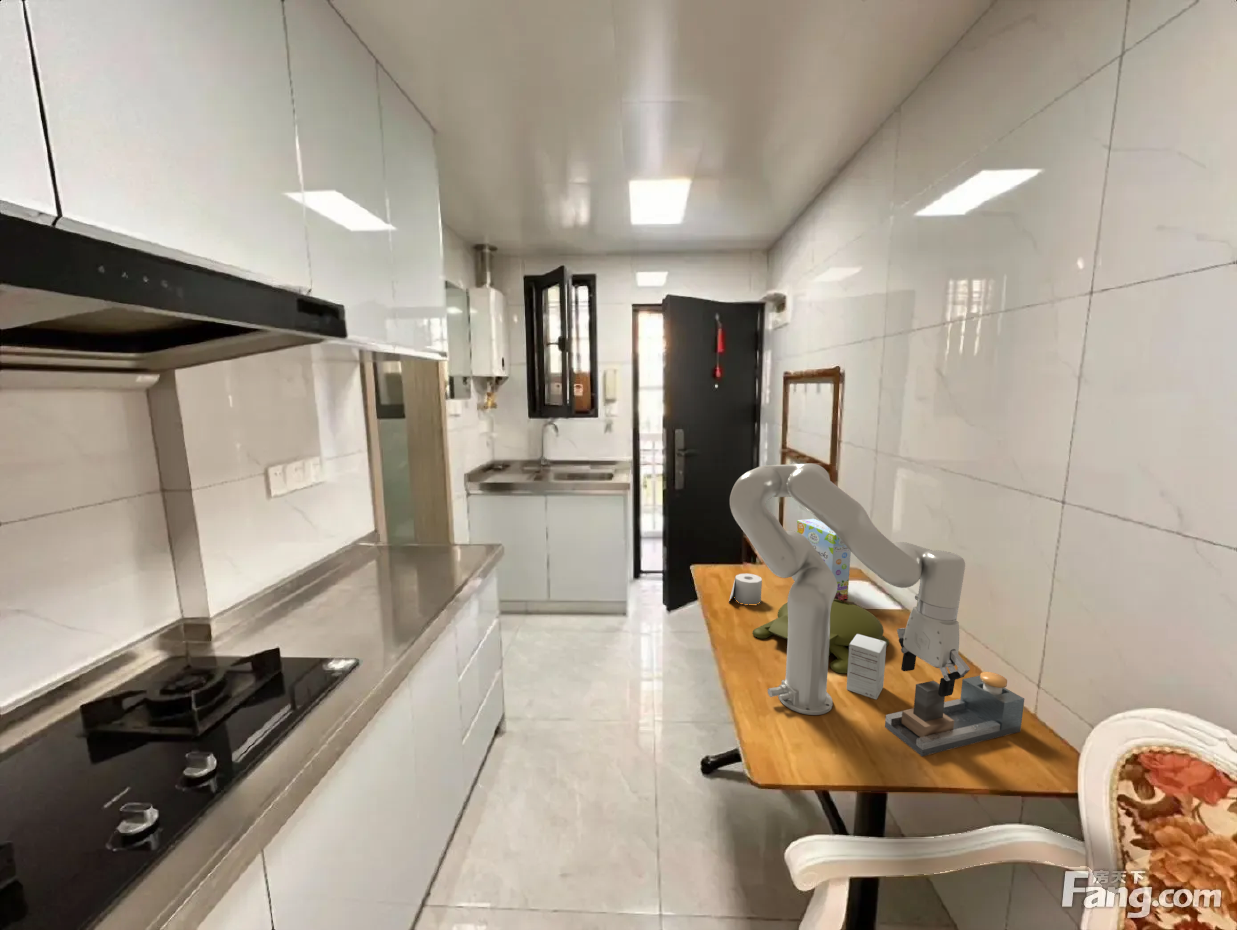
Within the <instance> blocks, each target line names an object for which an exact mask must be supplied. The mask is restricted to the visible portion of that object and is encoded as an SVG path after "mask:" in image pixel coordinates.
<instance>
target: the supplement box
mask: <svg viewBox="0 0 1237 930" xmlns="http://www.w3.org/2000/svg"><path fill="white" fill-rule="evenodd" d="M848 650H849V658H848V673H846V674H847V677H846V690H847V691H849V692H853V693H856V694H858V695H861V696H864V697H867V698H870V699H874V700H877V699H878V698H879V697H880V694H881V692H882V690H883V688H884V684H885V683H884V681H885V668H886V654H887V653H886V651H887V646H886V642H885V641H882V640H878V639H875V638H871V637H867V636H863V635H860V634H856V636H855V637H854V638H853V640H852V641H851V643H850V644H849V646H848Z"/></svg>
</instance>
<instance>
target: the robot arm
mask: <svg viewBox="0 0 1237 930" xmlns="http://www.w3.org/2000/svg"><path fill="white" fill-rule="evenodd" d="M773 498H793V500H795V501H796V502H797V503H798V504H799V505H800V506H802V507H803V508H804V509H806V510H807V511H808V512H809V513H810V514H812V515H813V516H814V517H815V518H817V520H819V521H821V522H823V523H824V524H825V525H826V526H828V527H829V528H830V529H831V530H832V531H834V532H835V533H836V535H837V536H838V537H839V538H840V540H841V541H842V542H843V543H844V544H845V545H846V546H847V547H848V549H849V550H850V551H851V553H852V554H853V555H854V556H855V557H856V558H857V559H858V560H859V561H860V562H861V563H862V564H863V565H864V566H866V568H868V569H869V570H870V571H871V572H873V573H874V575H876V576H877V577H878V578H880V579H881V580H882V581H884V582H885V583H887V584H889V585H890V586H893V587H896V588H900V589H906V588H910V587H913V586H915V585H916V584H917V583H918V582H919V581H920V582H919V588H918V593H917V594H915V596H914V599H915V601H916V606H913V608H912V610H911V611H910V614H909V616H908V620H907V622H906V626H905V627H901V628H897V629H896V631H897V636H898V643H899V645H900V646H901V648H900V651H901V653H902V662H901V668H900V669H901V671H903V672H909V671H915V668H916V667H915V666H916V661H917V658H919V659H921V660H922V661H924V662H925V663H926V664H929V665H930V666H932V667H934V668H936V669H939V670H940V672H941V675H942V677H941V678H940V681H939V684H940V685H939V692H938V694H939V696H941V697H944V696H945V697H949V696H952V695H953V693H954V688H955V683H956V680H959V679H963V678H964V677H965V675H967V674H968V673H969V672H970V666H969V665H968V664H967V663H966V662H965V660H964V659H963V658H962V656H960V654H959V651H960V650H959V649H960V625H959V623H960V622H959V621H958V620H957V619H958V614H959V607H960V600H961V597H962V594H961V593H962V587H963V582H964V577H965V576H964V575H965V569H966V561H965V559H964V558H963V557H962V556H961V555H958V554H957V553H956V554H955V553H954V552H950V551H945V550H938V549H937V550H936V549H934V550H933V549H929V548H926V547H922V546H919V545H917V544H913V543H909V542H904V541H898V542H897V541H896V542H894V543H893V541H891V540H890V539H889V538H888V537H886V535H884V534H883V533H882V532H881V531H880V530H879V529H878V528H877V527H876V526H875V524H874V523H873V522H872V520H871V519H870V517H869V514H868V513H867V511H866V510H865V508H864V507H863V506H862V504H861V503H859V502H858V501H857V500H855V499H854V498H853V497H851V495H849V494H848V493H847V492H845V491H844V490H842V489H841V487H839V486H837V485H836V484H835V483H834V482H833V481H831V478H830V474H829V472H828V471H827V470H826V469H825V468H824V467H823V466H821V465H819V464H818V463H811V462H810V463H793V464H791V463H789V464H770V465H769V464H768V465H767V464H766V465H765V464H764V465H760V466H757V467H756V468H753V469H751V470H748V471H746V472H745V473H743V474H742V475H741V476H740V477H739V478H738V479H737V480H736V481H735V483H734V485H733V487H732V489H731V492H730V495H729V508H730V512H731V515H732V516H733V519H734V520H735V522H736V524H737V525H738V526H739V527H740V529H741V530H742V531H743V533H744V535H746V537H747V538H748V541H749V542H750V544H752V546H753V548H754V549H755V551H756V552H757V554H758V555H759V556H760V558H761V559H762V560H763V562H764V564H765V565H766V567H767V568H768V570H769V571H770V572H771V573H772V574H773V575H775V576H777V577H779V578H782V579H787V578H791V579H792V580H793V581H794V582H793V583H792V584H791V586H790V589H789V593H788V594H787V595H788V596H787V602H788V604H787V605H788V640H787V643H786V644H787V646H786V647H787V648H786V663H785V665H786V666H785V679H782V680H781V684H779V685H778V686H777V687H769V688H767V694H768V696H769V697H770V698H773V697H778V700H779V701H780V702H781V703H782V704H783V705H784V706H785V707H787V708H788V709H790V710H791V711H794V712H796V713H798V714H803V715H808V716H809V715H810V716H819V715H824V714H827V713H829V712H830V711H831V710H832V708H833V703H834V702H833V698H832V696H831V695H830V693H828V692H827V688H828V687H827V686H828V685H827V684H828V674H829V673H828V670H829V658H830V657H829V656H830V655H829V640H830V612H831V606H832V603H833V600H834V597H835V595H836V593H837V581H836V578H835V576H834V574H833V573H832V571H831V570H830V568H829V567H828V566H827V564H826V563H825V562H824V560H823V559H822V558H821V556H820V555H819V553H818V552H817V551H816V549H815V548H814V547H813V545H812V544H811V543H810V541H809V540H808V539H807V538H806V537H804V536H803V535H802V534H800V533H798V532H797V531H794V530H785V529H784V527H783V526H782V524H781V523H780V521H779V519H777V517H776V516H775V515H774V514H773V513H772V512H771V511H770V510H769V509H768V507H767V505H766V504H767V502H768V501H770V500H771V499H773ZM955 666H956V667H957V669H956V667H955Z"/></svg>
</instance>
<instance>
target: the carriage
mask: <svg viewBox="0 0 1237 930" xmlns="http://www.w3.org/2000/svg"><path fill="white" fill-rule="evenodd" d="M939 685H940V683H938V682H937V681H935V680H929V681H925V682H921V683H916V684H915V691H914V699H913V701H914V702H913V703H914V704H913V707H912V708H909V709H905V710H901V711H902V722H901V723H902V724H903V725H905V726H906V727H907V728H909V729H910V730H911V731H913V732H914V733H915V734H916V735H918V736H919V737H920V738H921V737H925V736H929V735H933V734H937V733H942V732H946V731H950V730H953V727H954V720H953V719H951V718H950V717H948V716H947V715H945V714H944V713H943V710H944V702H945V697H946V696H944V697H941V696H939V694H938V692H939Z"/></svg>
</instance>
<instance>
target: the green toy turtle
mask: <svg viewBox="0 0 1237 930" xmlns="http://www.w3.org/2000/svg"><path fill="white" fill-rule="evenodd" d="M787 604H788V601H787V602H786V603H784V604H783V605H782V606H781V607H780V608H779V609H778V611H777V618H775V619H773V620H771V621H769V622H766V623H764V624H762V625H760V626H757V627H756V628H754V629H753V630H752V636H754V637H755V638H756V637H757V639H761V640H763V639H764V640H765V639H768V638H770V637H771V636H773V635H774V636H777V637H780V638H782V639H785V640H787V641H788V605H787ZM884 631H885V630H884V625H882V622H880V620H879V619H878V617H876V616H875V615H874V614H873V613H872V612H870V611H868V610H867V609H865V608H863V607H861V606H858V605H857V604H853V603H850V602H845V601H844V600H842V601H841V600H838V599H834V600H833V603H832V606H831V612H830V640H829V656H830V655H831V654H833V655H834V656H835V657H836V658H835V659H834V660H833V661H831V662H830V664H829V666H830V669H831V670H832V671H833V672H835V673H838V674H843V675H844V674H847V673H848V658H849V648H847V647H846V646H848V647H849V644H850V643H851V641H852V640H853V638H854V637H855V636H856V634H860V635H863V636H867V637H871V638H875V639H878V640H882V641H885V642H886V647H887V646H889V644H890V641H889V639H888V638H887V637H885V636H883V635H884Z"/></svg>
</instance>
